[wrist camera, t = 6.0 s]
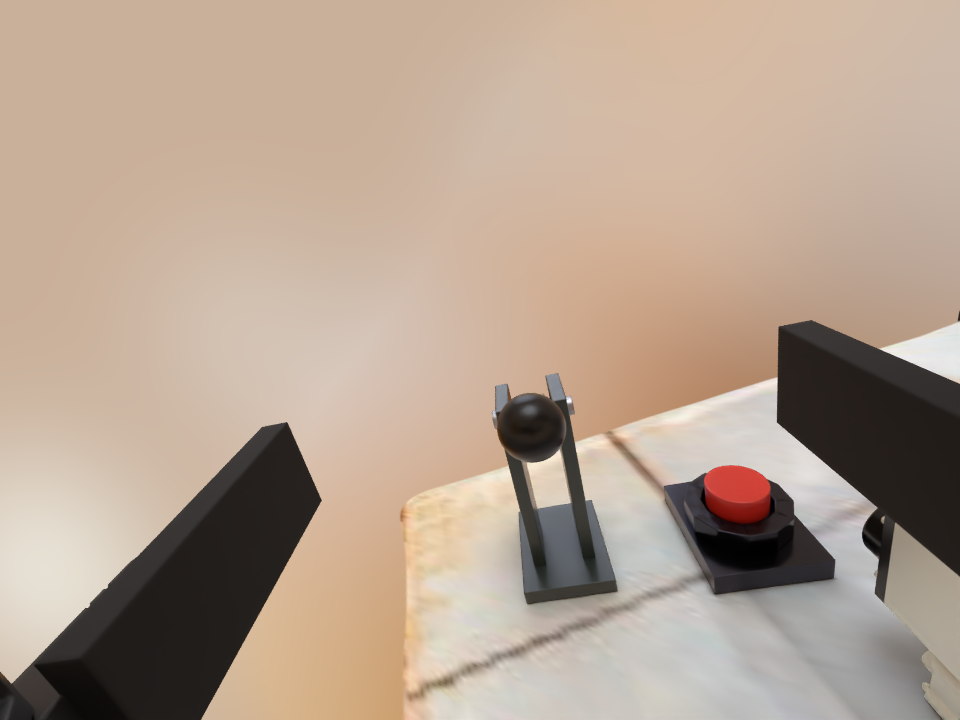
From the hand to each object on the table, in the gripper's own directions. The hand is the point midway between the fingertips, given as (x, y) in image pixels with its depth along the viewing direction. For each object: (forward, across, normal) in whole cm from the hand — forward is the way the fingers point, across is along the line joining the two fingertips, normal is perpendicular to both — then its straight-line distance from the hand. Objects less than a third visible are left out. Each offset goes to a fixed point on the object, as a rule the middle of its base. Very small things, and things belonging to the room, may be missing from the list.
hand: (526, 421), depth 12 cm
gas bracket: (+19, 0, -24) cm, 31 cm away
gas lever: (+13, 0, -10) cm, 16 cm away
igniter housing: (+18, +14, -24) cm, 33 cm away
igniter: (+18, +14, -21) cm, 31 cm away
